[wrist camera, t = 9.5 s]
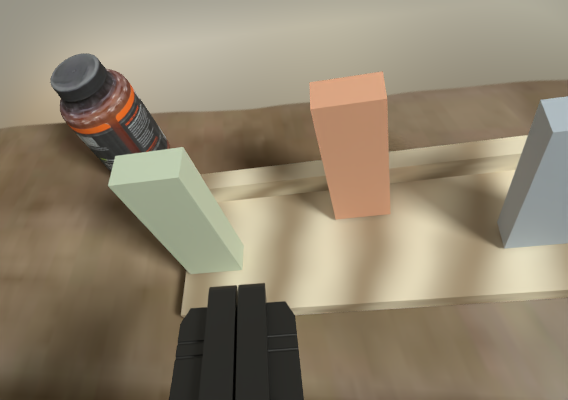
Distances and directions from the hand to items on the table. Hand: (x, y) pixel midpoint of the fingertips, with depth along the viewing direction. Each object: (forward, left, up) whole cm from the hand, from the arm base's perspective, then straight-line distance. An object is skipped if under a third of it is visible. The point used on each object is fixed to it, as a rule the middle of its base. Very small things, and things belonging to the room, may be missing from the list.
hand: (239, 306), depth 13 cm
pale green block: (-8, +11, -19) cm, 23 cm away
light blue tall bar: (+14, +11, -19) cm, 26 cm away
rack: (+3, +13, -20) cm, 24 cm away
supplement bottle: (-17, +23, -21) cm, 35 cm away
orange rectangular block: (+3, +14, -19) cm, 23 cm away
